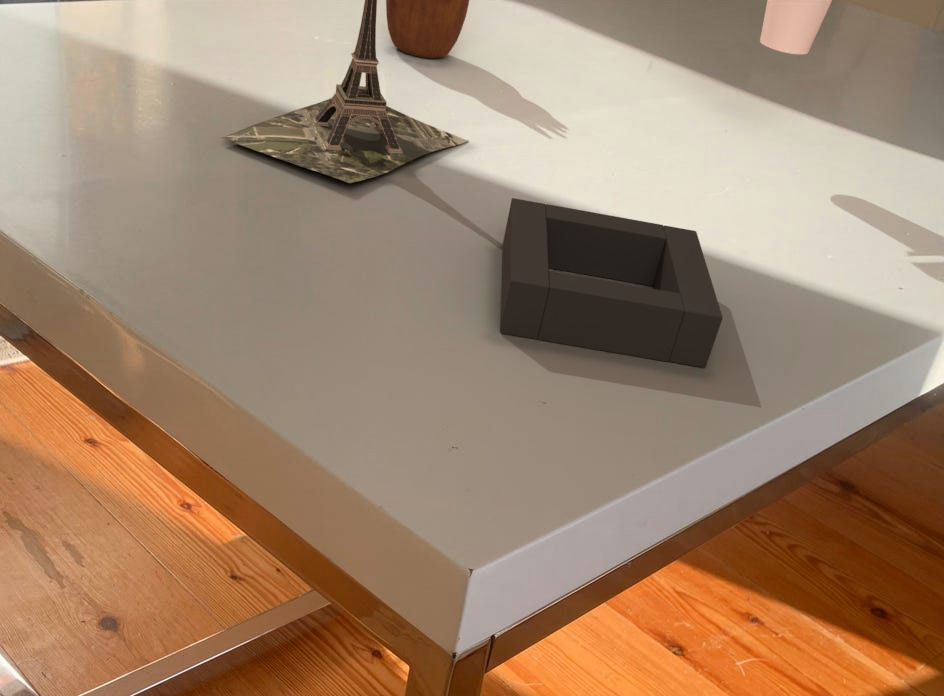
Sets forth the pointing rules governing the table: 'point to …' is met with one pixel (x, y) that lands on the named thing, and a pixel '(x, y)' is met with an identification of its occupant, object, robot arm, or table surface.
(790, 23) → the smoothie
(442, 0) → the wooden figurine
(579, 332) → the dark square frame
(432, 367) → the table surface
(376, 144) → the eiffel tower figurine
